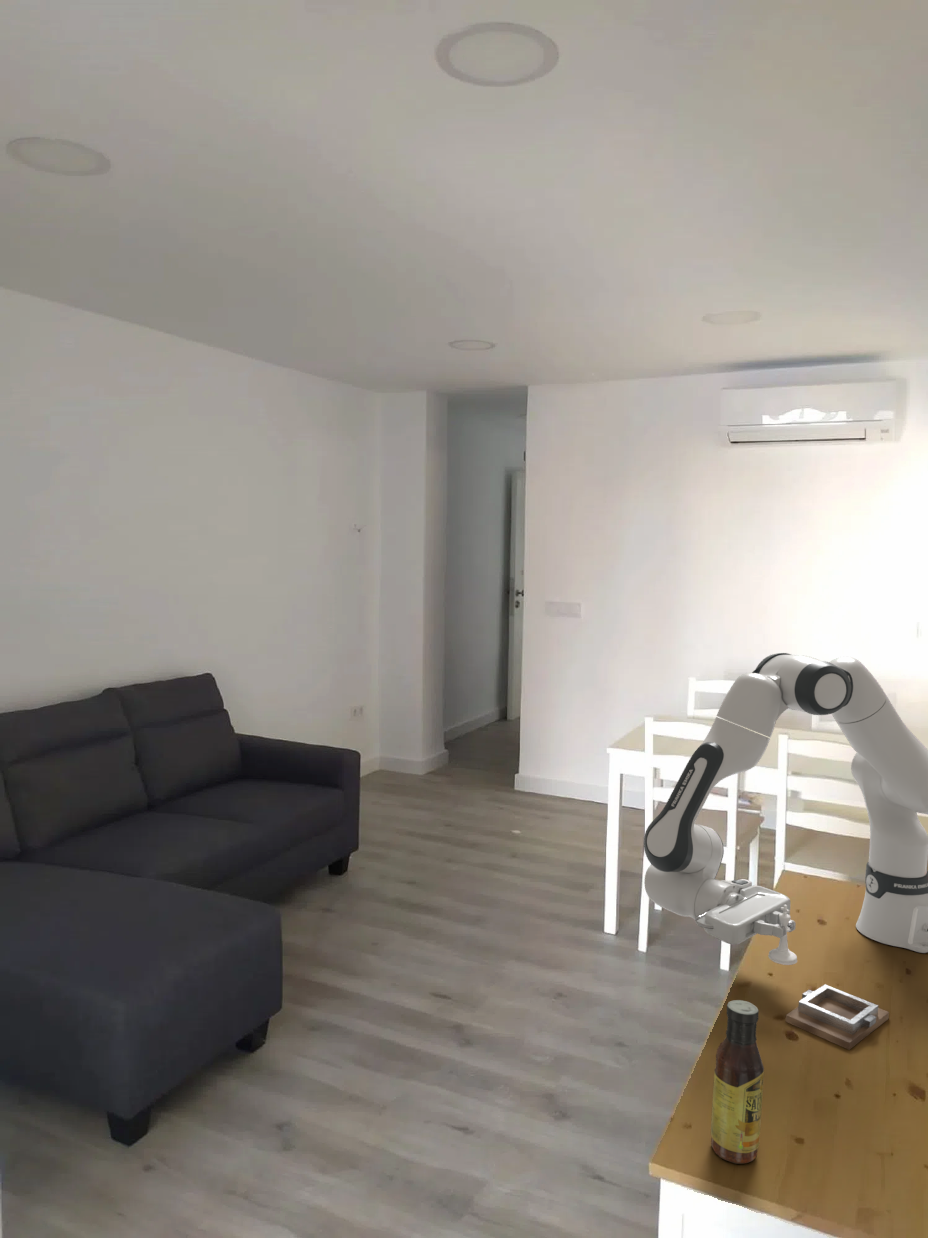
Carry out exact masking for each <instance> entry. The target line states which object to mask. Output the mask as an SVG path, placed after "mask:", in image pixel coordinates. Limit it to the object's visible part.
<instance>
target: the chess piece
mask: <svg viewBox="0 0 928 1238" xmlns="http://www.w3.org/2000/svg"><path fill="white" fill-rule="evenodd" d="M781 910H783V913H781V914H779V919H780V922H781V926H784V927H785V928H786V935H785V936H783V937H781V938H779V943H778V946H777V947H776V948H772V949H770V950H769V952H768V955H767V956H768V958H769V960H770V961H772V962H773V963H775V964H777V965H779V964H780V965H784V966H790V965H792V966H793V965H795V964H797V963H798V956H797V954H796V953H794V952H793V951H791V950H790V949H789V945H788V943H789V942H788V933H790V932H789V931H790V928H789V927H788V926H787V925H788V923H789V921H790V920H791V918H792V917H791V909H790V910H788V909H787V905H784V906H783V907H781ZM787 913H790V915H788V914H787Z"/></svg>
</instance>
